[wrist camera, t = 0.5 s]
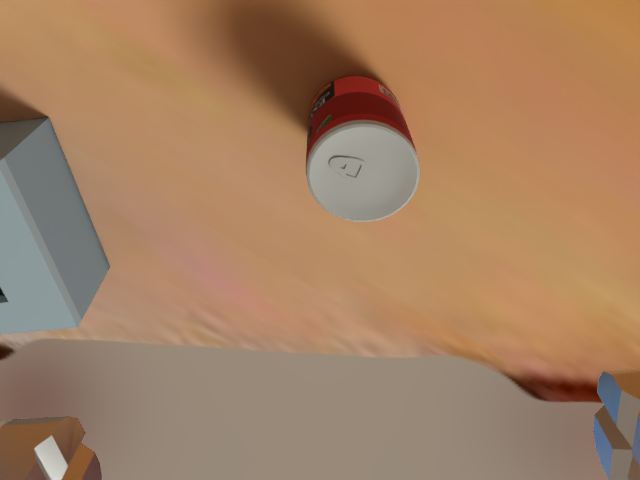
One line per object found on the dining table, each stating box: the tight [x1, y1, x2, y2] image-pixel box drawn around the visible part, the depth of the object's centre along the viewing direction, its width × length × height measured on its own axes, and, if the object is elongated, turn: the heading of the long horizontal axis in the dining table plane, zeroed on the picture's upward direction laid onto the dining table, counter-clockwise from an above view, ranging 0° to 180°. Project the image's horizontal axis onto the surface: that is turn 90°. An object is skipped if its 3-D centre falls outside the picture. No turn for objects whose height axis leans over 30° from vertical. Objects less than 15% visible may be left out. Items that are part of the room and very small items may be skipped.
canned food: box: [306, 76, 420, 222], centre depth 42 cm, size 8×8×11 cm
